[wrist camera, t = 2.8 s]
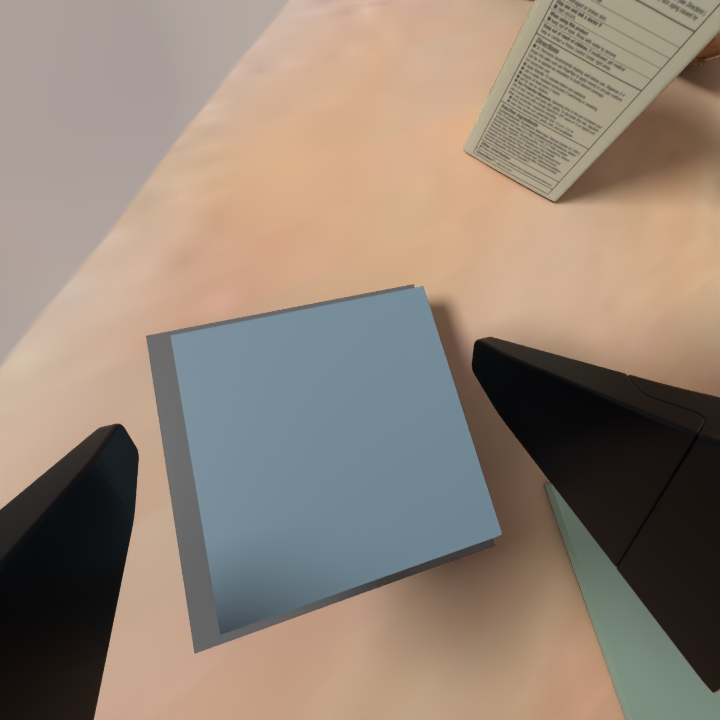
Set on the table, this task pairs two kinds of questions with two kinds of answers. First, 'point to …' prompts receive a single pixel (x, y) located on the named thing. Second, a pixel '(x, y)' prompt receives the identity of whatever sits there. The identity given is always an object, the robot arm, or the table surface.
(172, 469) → the square socket block
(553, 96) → the skincare box
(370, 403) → the tall square blue prism
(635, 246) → the table surface
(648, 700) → the green mat
